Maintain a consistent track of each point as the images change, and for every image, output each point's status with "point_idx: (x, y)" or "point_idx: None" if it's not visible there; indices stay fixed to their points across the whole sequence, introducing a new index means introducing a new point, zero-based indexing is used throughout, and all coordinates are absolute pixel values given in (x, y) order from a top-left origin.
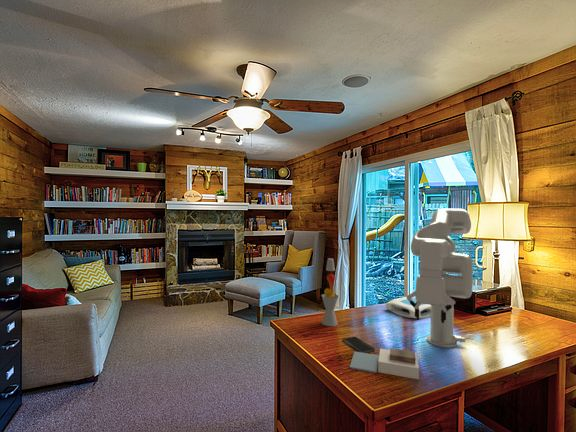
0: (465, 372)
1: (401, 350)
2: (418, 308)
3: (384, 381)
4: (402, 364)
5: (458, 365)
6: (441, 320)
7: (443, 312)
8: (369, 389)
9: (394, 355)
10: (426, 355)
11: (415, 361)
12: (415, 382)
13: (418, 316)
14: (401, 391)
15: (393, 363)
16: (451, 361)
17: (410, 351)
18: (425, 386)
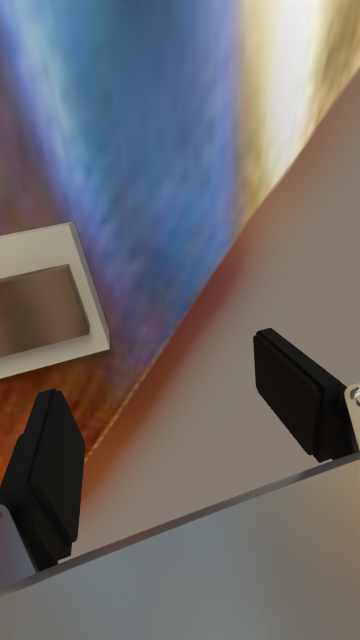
0: (239, 189)
1: (4, 290)
2: (59, 552)
3: (24, 400)
4: (49, 357)
5: (221, 132)
6: (260, 375)
7: (326, 458)
8: (10, 454)
9: (1, 356)
10: (86, 84)
11: (89, 329)
12: (105, 352)
13: (78, 476)
14: (85, 413)
15: (17, 369)
16: (196, 100)
17: (46, 276)
18: (134, 355)
